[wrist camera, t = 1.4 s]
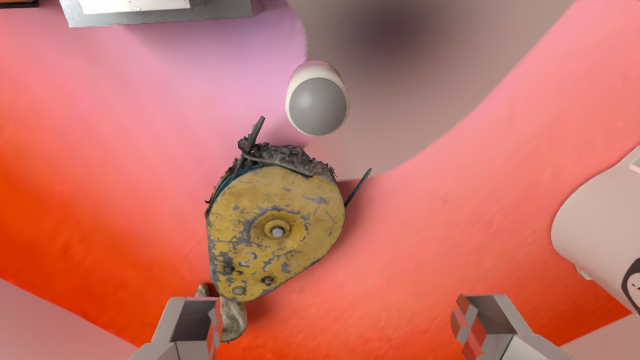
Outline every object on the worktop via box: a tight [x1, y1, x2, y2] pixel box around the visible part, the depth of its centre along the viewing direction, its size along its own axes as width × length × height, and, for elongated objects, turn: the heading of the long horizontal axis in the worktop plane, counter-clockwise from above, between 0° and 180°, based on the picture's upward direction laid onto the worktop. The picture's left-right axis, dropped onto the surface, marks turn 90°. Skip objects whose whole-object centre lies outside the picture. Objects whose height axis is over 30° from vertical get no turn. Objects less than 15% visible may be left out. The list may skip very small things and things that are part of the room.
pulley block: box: [195, 116, 372, 344], centre depth 37 cm, size 14×6×30 cm
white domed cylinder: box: [285, 60, 350, 136], centre depth 28 cm, size 5×5×6 cm
